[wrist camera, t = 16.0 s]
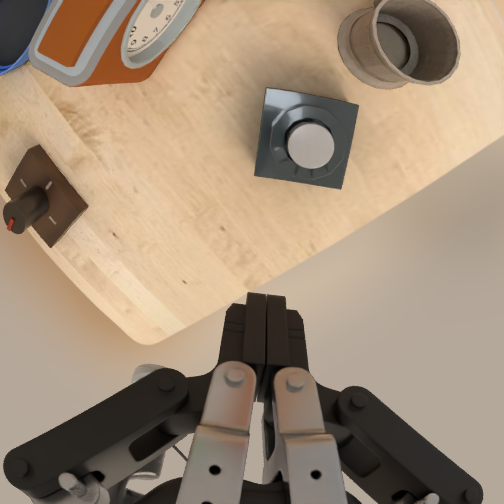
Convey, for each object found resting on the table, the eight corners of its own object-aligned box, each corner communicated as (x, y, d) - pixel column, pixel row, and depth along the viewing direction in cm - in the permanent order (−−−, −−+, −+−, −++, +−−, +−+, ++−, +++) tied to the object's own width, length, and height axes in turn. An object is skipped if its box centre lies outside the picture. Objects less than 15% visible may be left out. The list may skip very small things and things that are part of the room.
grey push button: (325, 166, 27) (329, 172, 26) (283, 159, 27) (284, 164, 26) (333, 125, 25) (338, 128, 24) (290, 117, 25) (291, 120, 23)
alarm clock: (144, 89, 29) (78, 97, 17) (92, 60, 27) (15, 61, 15) (221, -15, 23) (194, -68, 11) (161, -41, 20) (110, -87, 9)
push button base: (333, 178, 33) (345, 196, 28) (255, 166, 33) (253, 182, 28) (349, 102, 29) (365, 106, 24) (266, 87, 29) (265, 87, 24)
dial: (33, 179, 32) (6, 196, 27) (53, 201, 34) (27, 220, 29) (23, 201, 34) (-2, 219, 29) (42, 221, 35) (18, 241, 30)
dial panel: (88, 206, 37) (78, 214, 34) (59, 240, 40) (49, 249, 37) (39, 144, 32) (27, 149, 30) (14, 184, 35) (3, 190, 33)
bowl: (-14, 92, 27) (-30, 96, 24) (-14, -1, 18) (-28, -1, 15) (68, 46, 25) (51, 45, 22) (70, -57, 16) (56, -64, 13)
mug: (429, 81, 26) (492, 87, 16) (356, 97, 28) (399, 104, 18) (386, -29, 20) (431, -65, 9) (307, -18, 22) (325, -63, 12)
